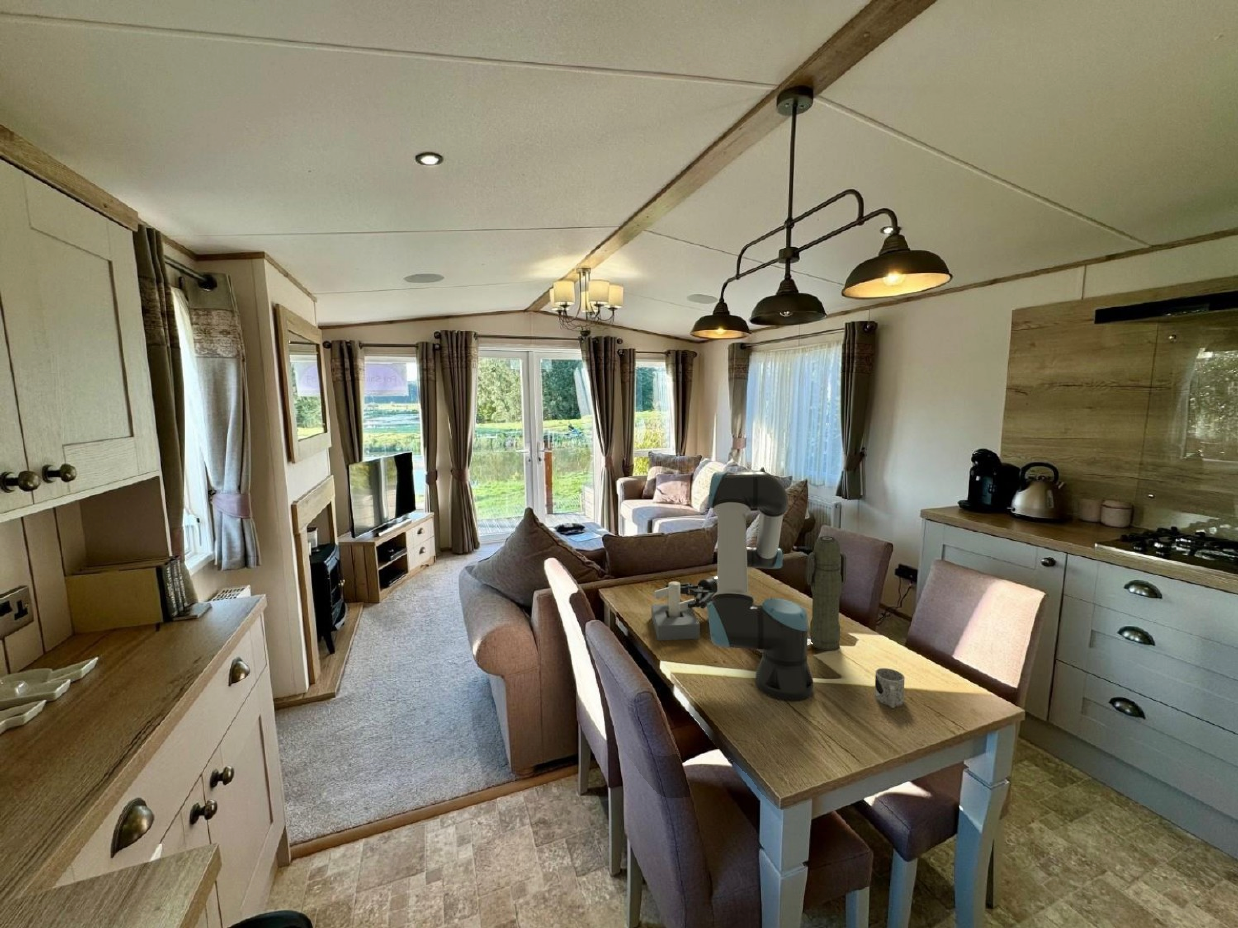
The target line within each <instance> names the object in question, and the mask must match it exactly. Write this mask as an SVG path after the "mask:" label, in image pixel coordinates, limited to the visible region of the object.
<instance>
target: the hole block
mask: <svg viewBox="0 0 1238 928" xmlns="http://www.w3.org/2000/svg"><path fill="white" fill-rule="evenodd" d="M650 608H651V620H652V623H653V628H654V631H655V634H656V635H655V636H656V638H657V641H672V640H673V641H674V640H676V641H677V640H695V639H697V640H698V639H700V636H701V633H700V631H701V630H700V629H701V628H700V626H701V625H700V622H699V620H698V618H697V616H696V614H695V612H694V610H693V608H690V609H687V610H684V611H680V617H674V618H669V603H662V604H661V603H660V604H651V606H650Z"/></svg>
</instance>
